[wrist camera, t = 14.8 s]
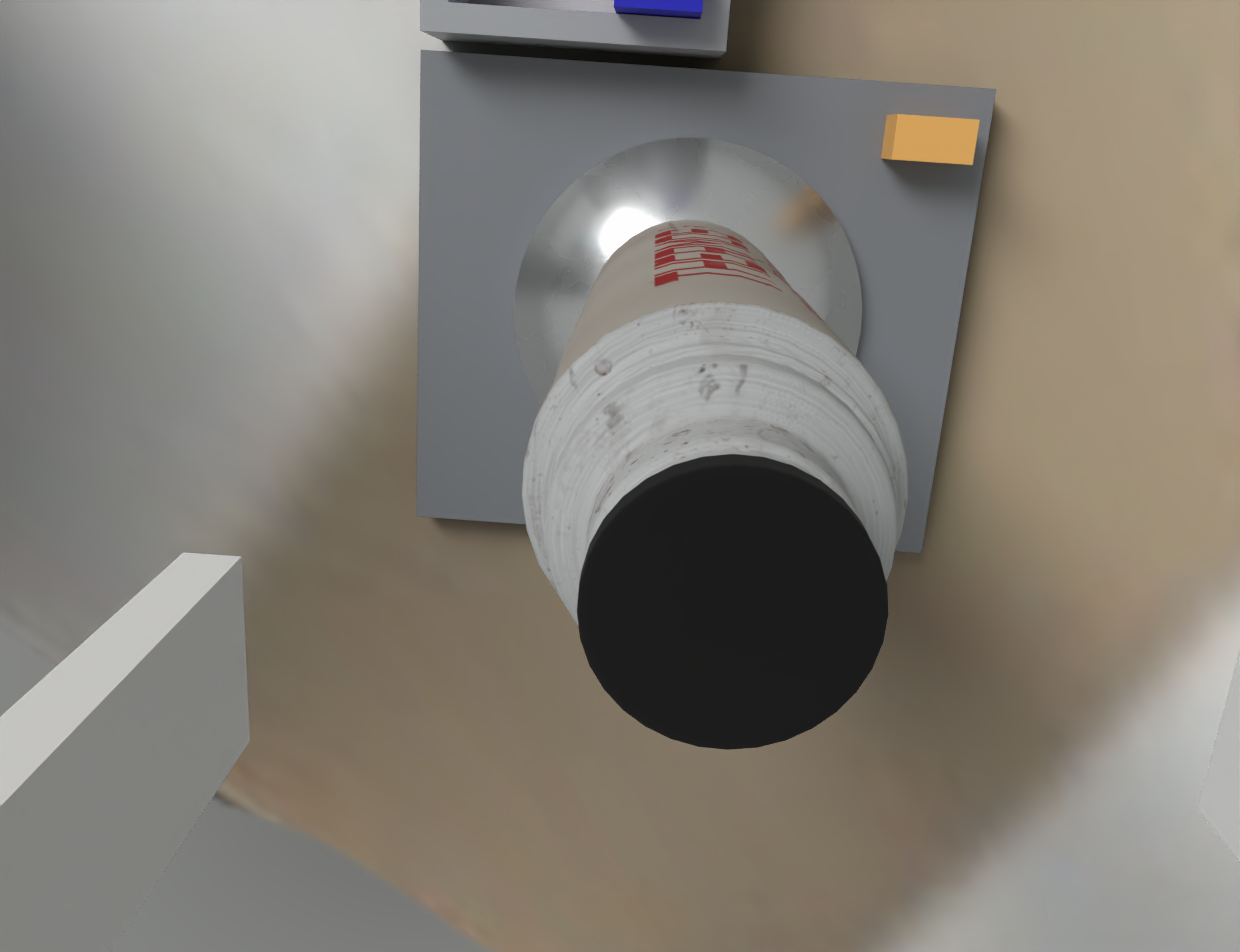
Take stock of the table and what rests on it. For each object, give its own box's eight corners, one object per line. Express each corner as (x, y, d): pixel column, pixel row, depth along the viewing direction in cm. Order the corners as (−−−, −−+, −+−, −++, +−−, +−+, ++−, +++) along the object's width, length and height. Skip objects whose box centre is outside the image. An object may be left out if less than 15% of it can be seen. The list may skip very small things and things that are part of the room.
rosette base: (423, 505, 48) (406, 532, 45) (428, 52, 43) (409, 45, 39) (913, 540, 48) (932, 570, 45) (984, 90, 42) (1012, 86, 39)
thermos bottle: (632, 186, 42) (588, 275, 15) (818, 265, 42) (1092, 484, 16) (558, 372, 44) (407, 734, 17) (736, 444, 45) (853, 898, 18)
